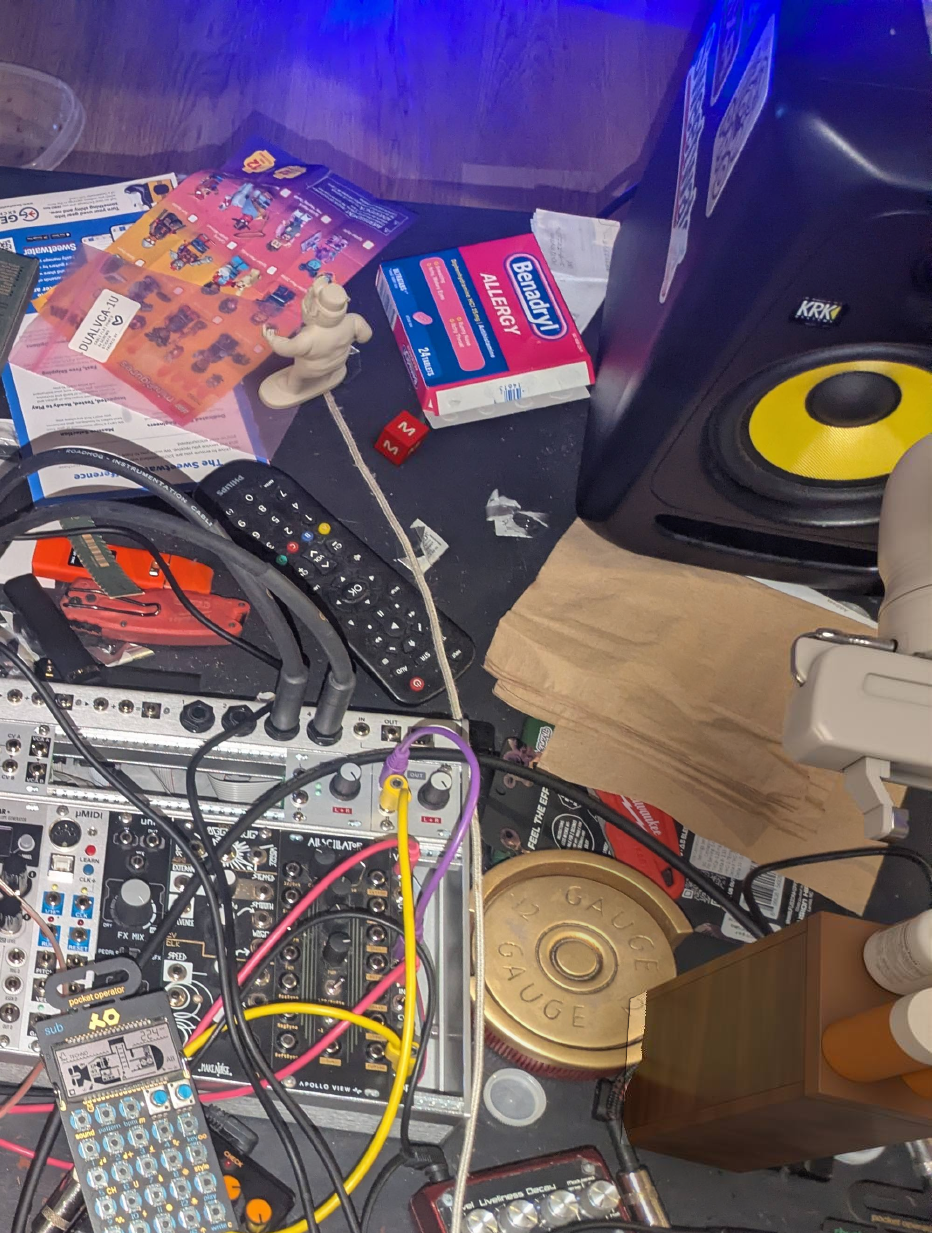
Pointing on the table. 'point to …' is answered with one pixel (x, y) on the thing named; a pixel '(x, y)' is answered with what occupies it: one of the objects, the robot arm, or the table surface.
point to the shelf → (840, 993)
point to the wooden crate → (742, 1068)
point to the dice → (401, 438)
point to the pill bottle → (902, 955)
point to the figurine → (314, 348)
